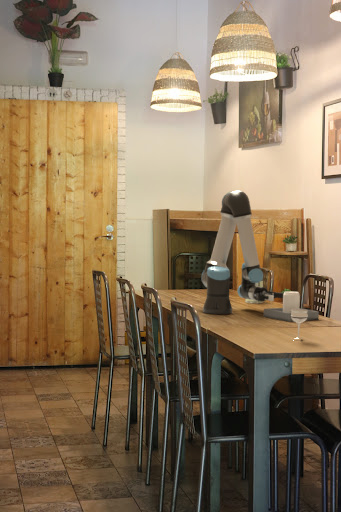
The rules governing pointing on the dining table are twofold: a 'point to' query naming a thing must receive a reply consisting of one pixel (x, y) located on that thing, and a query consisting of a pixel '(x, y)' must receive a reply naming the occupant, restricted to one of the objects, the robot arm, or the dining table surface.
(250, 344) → the dining table surface
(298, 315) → the wineglass
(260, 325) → the dining table surface
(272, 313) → the bin
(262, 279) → the coffee can
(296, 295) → the beverage can
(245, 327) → the dining table surface
